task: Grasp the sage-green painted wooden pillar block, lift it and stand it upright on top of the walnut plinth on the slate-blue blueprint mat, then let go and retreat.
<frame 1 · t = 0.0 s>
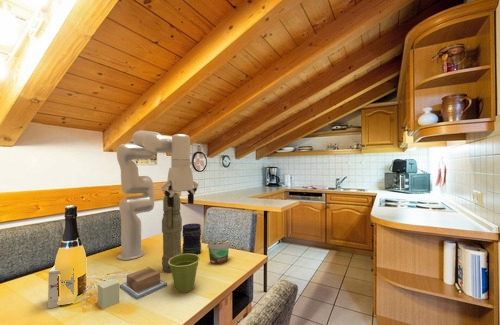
hand: (181, 205, 96), 31 cm above the table, fingers open, 9 cm apart
food container: (221, 262, 113), on the table
plant pot: (184, 289, 89), on the table
supplement box: (64, 301, 82), on the table
blueprint mat: (143, 286, 91), on the table
sage pillar block: (108, 303, 80), on the table
thermos: (172, 269, 106), on the table
storage jar: (191, 253, 126), on the table
walnut plinth: (143, 279, 91), on the blueprint mat, point 3 cm above the table
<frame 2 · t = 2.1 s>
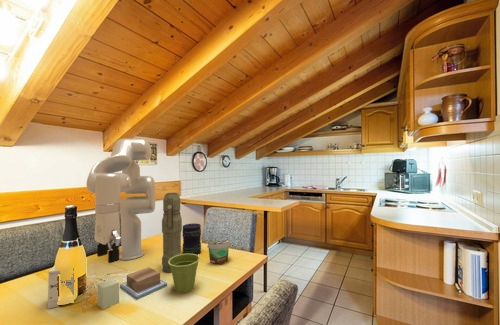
hand: (107, 258, 80), 16 cm above the table, fingers open, 9 cm apart
nothing on the table moved.
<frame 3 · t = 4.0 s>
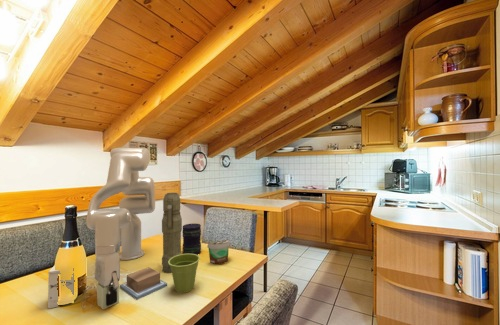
hand: (108, 300, 80), 1 cm above the table, fingers closed on sage pillar block, 5 cm apart
sage pillar block: (108, 303, 80), on the table, touching gripper
everything else where it was.
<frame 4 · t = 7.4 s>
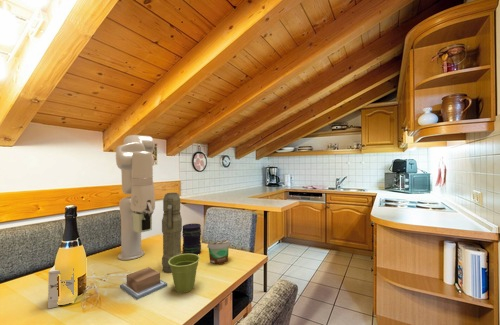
hand: (142, 227, 91), 23 cm above the table, fingers closed on sage pillar block, 5 cm apart
sage pillar block: (142, 230, 91), point 22 cm above the table, touching gripper
everything else where it was.
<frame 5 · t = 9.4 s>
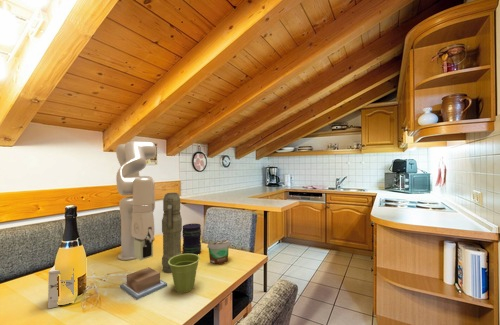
hand: (143, 254, 91), 13 cm above the table, fingers closed on sage pillar block, 5 cm apart
sage pillar block: (143, 256, 91), point 12 cm above the table, touching gripper
everything else where it was.
when the fingers open (7 cm above the table, at t = 10.9 s): sage pillar block drops 1 cm, resting on walnut plinth.
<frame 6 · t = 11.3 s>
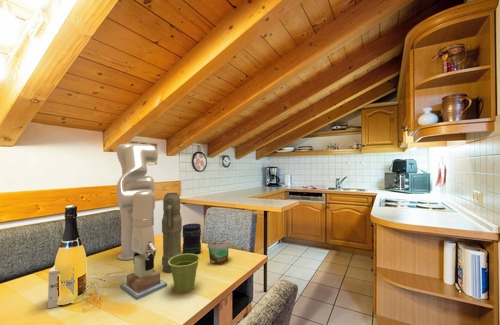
hand: (143, 266, 91), 8 cm above the table, fingers open, 9 cm apart
sage pillar block: (143, 273, 91), point 5 cm above the table, touching walnut plinth
everything else where it was.
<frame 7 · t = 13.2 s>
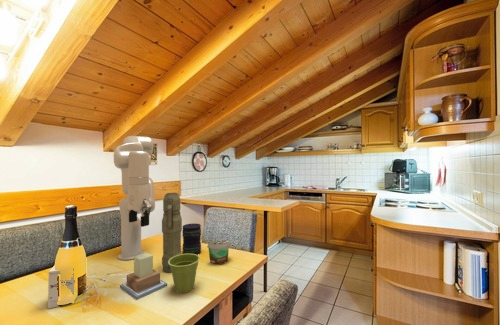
hand: (138, 223, 93), 24 cm above the table, fingers open, 9 cm apart
nothing on the table moved.
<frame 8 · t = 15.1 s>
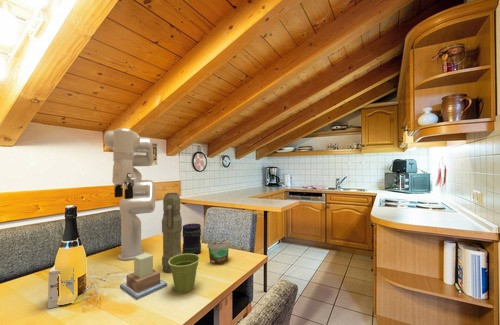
hand: (123, 197, 98), 34 cm above the table, fingers open, 9 cm apart
nothing on the table moved.
at the end: sage pillar block 0.0 cm off-centre on the walnut plinth, point 5.0 cm above the walnut plinth's base; sage pillar block tilted 0°; the gripper is holding nothing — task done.
